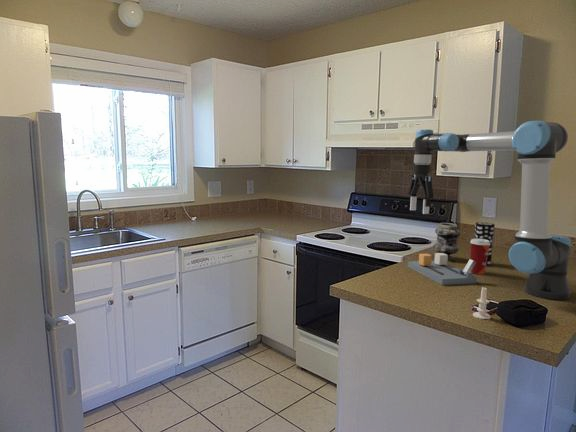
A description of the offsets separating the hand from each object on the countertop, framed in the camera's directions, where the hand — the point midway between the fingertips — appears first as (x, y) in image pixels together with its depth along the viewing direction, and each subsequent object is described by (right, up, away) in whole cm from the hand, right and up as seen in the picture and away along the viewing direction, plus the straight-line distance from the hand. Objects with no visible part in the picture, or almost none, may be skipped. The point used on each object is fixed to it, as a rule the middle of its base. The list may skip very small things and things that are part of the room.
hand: (419, 211), depth 193 cm
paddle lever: (+13, -26, -19) cm, 35 cm away
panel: (+6, -28, -9) cm, 30 cm away
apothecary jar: (+19, -24, +19) cm, 36 cm away
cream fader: (+9, -24, -3) cm, 25 cm away
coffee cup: (+25, -28, -5) cm, 38 cm away
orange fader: (+1, -24, -4) cm, 24 cm away
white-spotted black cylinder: (+34, -25, +10) cm, 44 cm away
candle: (+3, -35, -56) cm, 66 cm away
